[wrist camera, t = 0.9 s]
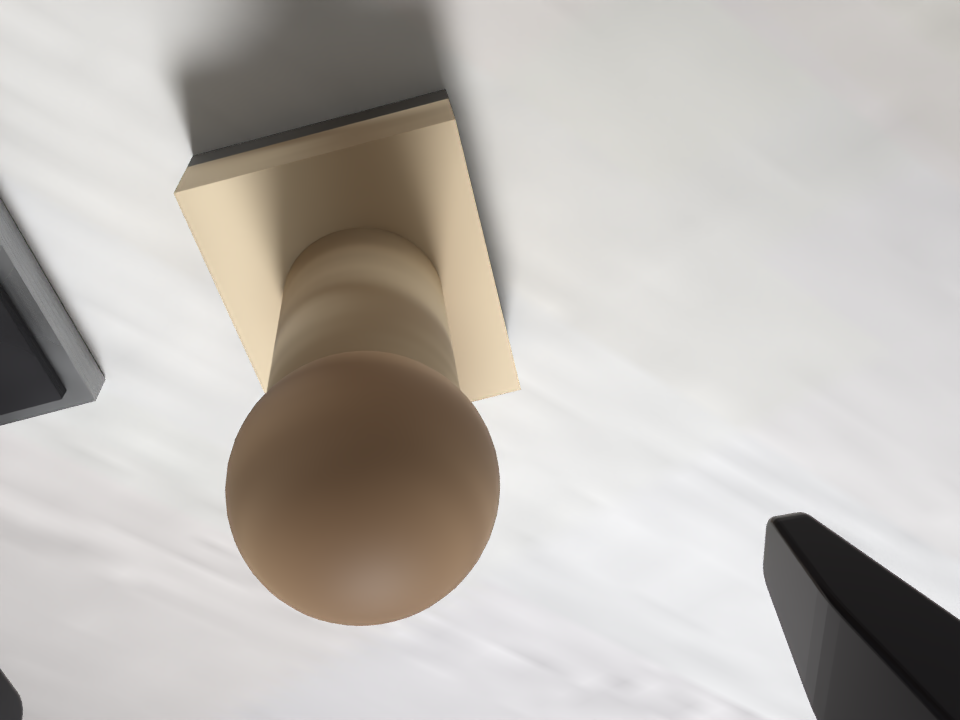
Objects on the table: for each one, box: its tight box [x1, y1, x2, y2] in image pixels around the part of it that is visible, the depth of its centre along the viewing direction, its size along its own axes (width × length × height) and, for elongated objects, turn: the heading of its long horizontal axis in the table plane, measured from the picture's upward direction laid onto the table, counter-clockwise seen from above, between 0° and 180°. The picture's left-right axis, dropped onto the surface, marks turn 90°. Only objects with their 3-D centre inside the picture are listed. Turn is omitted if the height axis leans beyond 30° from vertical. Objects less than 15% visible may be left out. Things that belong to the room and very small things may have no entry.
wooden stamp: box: [174, 90, 521, 626], centre depth 16 cm, size 6×7×11 cm
